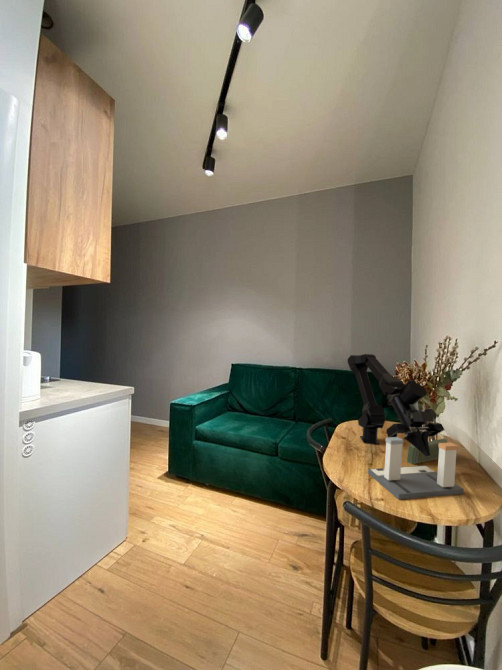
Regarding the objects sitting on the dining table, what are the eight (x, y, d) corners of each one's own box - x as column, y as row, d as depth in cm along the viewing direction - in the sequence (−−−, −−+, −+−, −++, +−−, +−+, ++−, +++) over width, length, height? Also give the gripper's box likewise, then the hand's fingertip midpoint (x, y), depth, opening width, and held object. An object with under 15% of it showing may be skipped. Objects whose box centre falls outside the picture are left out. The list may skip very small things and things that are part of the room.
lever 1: (383, 476, 83) (385, 437, 83) (395, 475, 84) (397, 437, 84) (388, 480, 81) (391, 440, 80) (400, 479, 82) (403, 440, 81)
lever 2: (436, 483, 81) (438, 443, 80) (447, 482, 82) (450, 442, 81) (442, 487, 78) (445, 446, 78) (455, 486, 79) (457, 445, 79)
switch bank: (368, 473, 88) (368, 468, 88) (425, 469, 92) (425, 464, 92) (398, 499, 75) (399, 493, 75) (463, 493, 79) (463, 487, 79)
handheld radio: (405, 461, 98) (447, 452, 108) (413, 466, 95) (456, 456, 105) (406, 443, 98) (449, 436, 108) (415, 448, 95) (458, 439, 105)
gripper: (394, 399, 89) (419, 448, 79) (442, 399, 93) (471, 445, 82) (377, 415, 97) (397, 460, 87) (421, 414, 101) (445, 458, 90)
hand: (428, 456), depth 86 cm, fingers closed
